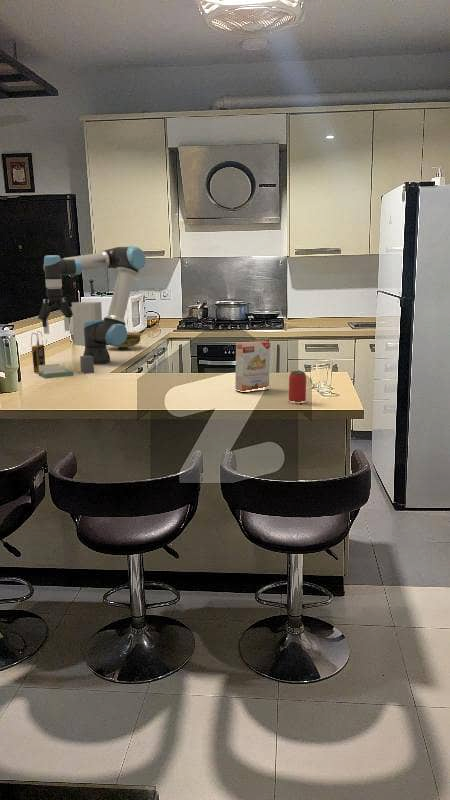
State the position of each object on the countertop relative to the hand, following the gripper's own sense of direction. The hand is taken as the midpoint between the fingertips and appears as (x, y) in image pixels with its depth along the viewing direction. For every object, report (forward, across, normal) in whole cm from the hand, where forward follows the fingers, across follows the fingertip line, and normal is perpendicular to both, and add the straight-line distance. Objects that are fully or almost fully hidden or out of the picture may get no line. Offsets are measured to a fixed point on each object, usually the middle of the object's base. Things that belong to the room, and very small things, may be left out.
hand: (57, 332), depth 301 cm
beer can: (+21, 0, +129) cm, 131 cm away
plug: (+20, -9, +10) cm, 24 cm away
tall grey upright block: (+22, -89, -63) cm, 111 cm away
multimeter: (+20, 0, -10) cm, 23 cm away
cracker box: (+21, -11, +103) cm, 106 cm away
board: (+20, +6, +4) cm, 21 cm away
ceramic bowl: (+22, -84, -31) cm, 92 cm away
